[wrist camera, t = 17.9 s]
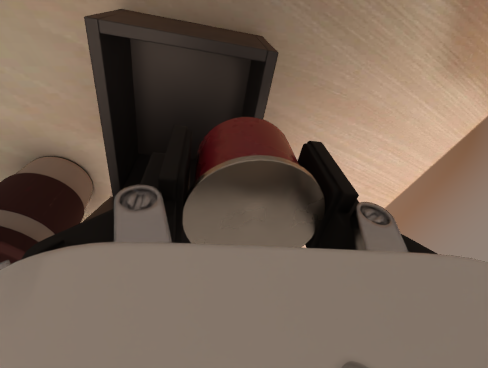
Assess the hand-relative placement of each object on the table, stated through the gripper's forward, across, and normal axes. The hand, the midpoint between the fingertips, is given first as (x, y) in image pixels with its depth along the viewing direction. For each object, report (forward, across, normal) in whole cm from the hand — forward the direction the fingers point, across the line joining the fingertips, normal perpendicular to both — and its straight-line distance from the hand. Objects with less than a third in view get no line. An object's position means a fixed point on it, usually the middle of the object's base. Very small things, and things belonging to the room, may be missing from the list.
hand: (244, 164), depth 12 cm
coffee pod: (0, 0, 0) cm, 0 cm away
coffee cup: (+18, +19, +16) cm, 30 cm away
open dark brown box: (+18, +4, +4) cm, 18 cm away
